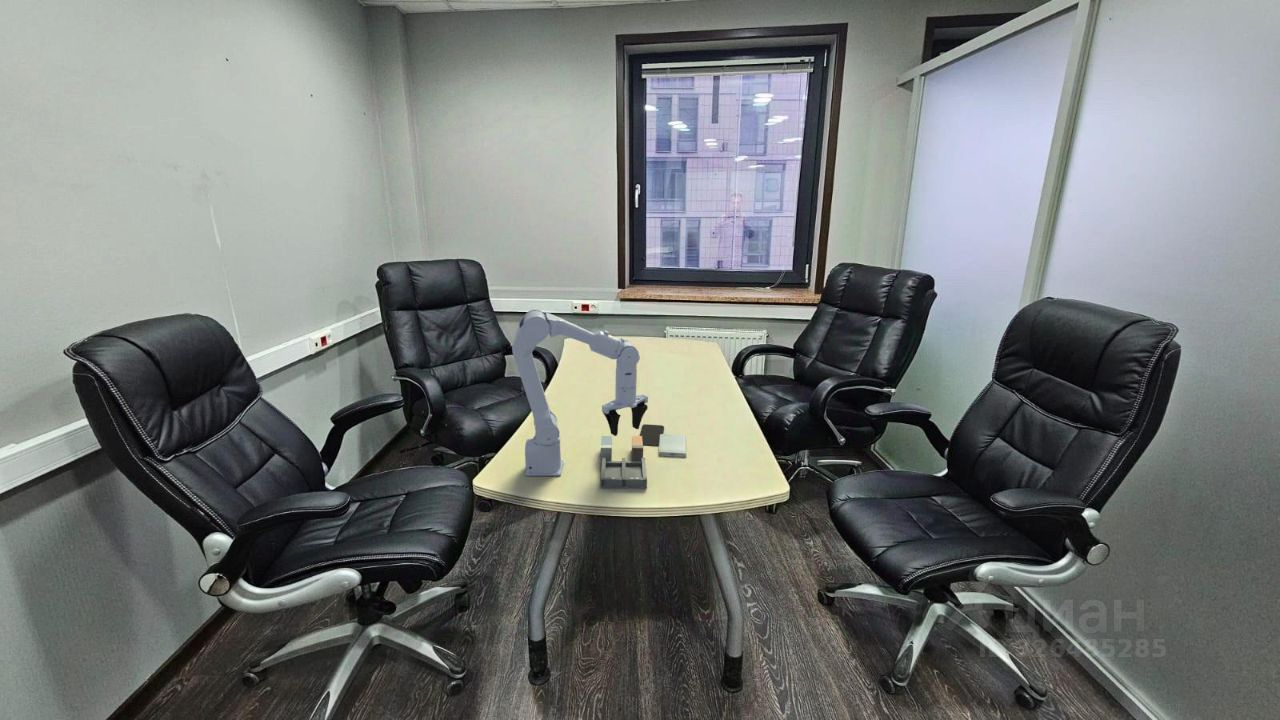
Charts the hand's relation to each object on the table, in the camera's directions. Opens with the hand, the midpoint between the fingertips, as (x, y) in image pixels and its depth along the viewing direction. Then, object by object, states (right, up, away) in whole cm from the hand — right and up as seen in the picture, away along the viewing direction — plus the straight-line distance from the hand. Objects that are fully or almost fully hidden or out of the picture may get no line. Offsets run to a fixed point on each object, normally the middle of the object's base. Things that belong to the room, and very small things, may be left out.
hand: (625, 431), depth 147 cm
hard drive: (+14, -7, +13) cm, 20 cm away
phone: (+8, -5, +20) cm, 22 cm away
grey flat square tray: (0, -12, -5) cm, 13 cm away
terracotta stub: (+3, -8, +6) cm, 11 cm away
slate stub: (-6, -8, +6) cm, 12 cm away
